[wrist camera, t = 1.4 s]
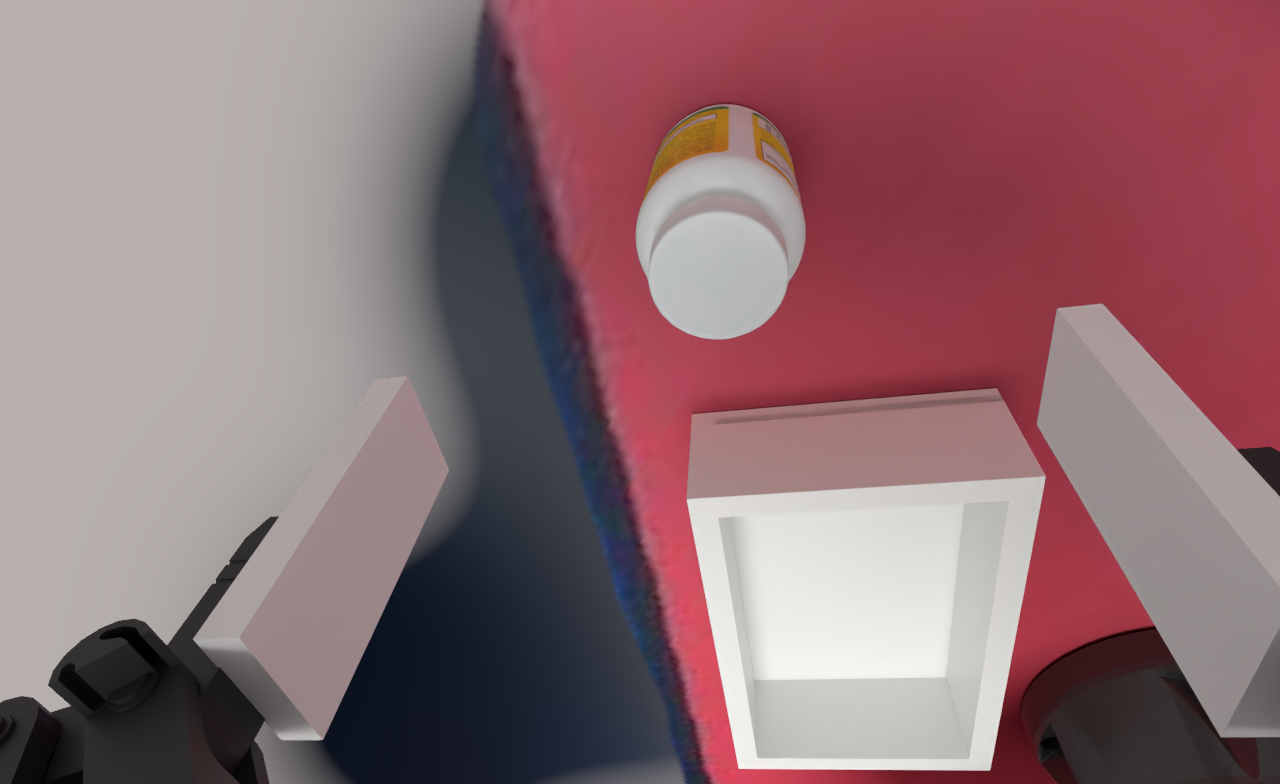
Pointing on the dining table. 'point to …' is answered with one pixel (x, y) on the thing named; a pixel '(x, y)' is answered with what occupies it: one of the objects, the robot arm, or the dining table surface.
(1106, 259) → the dining table surface
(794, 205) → the supplement bottle
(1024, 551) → the tote
